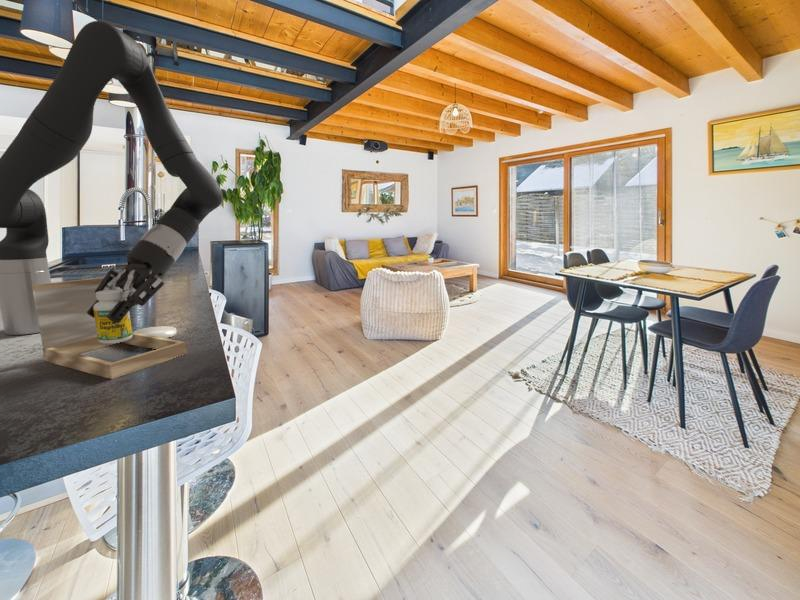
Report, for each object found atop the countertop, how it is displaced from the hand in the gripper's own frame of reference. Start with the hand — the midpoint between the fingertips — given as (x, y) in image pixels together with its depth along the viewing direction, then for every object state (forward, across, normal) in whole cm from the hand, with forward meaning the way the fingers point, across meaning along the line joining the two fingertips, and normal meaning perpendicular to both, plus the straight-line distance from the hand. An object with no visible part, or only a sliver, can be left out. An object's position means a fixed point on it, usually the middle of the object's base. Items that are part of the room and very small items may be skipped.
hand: (102, 318), depth 69 cm
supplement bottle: (+2, 0, +5) cm, 5 cm away
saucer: (-4, -6, +16) cm, 17 cm away
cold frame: (+5, 0, +7) cm, 8 cm away
